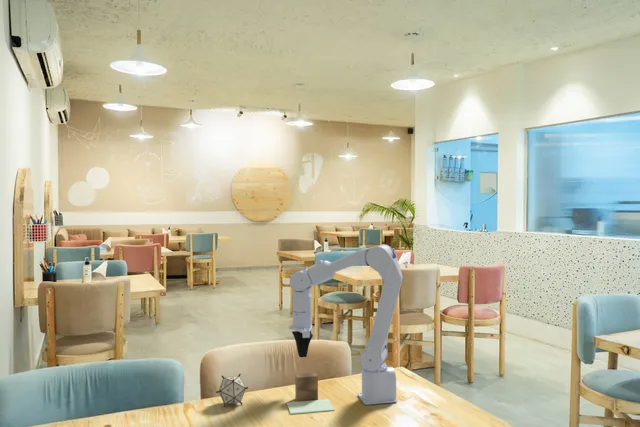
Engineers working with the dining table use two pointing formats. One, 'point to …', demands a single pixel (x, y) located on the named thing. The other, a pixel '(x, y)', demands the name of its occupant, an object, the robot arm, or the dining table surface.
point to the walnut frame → (306, 387)
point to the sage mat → (310, 406)
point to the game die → (232, 390)
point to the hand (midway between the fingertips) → (302, 356)
